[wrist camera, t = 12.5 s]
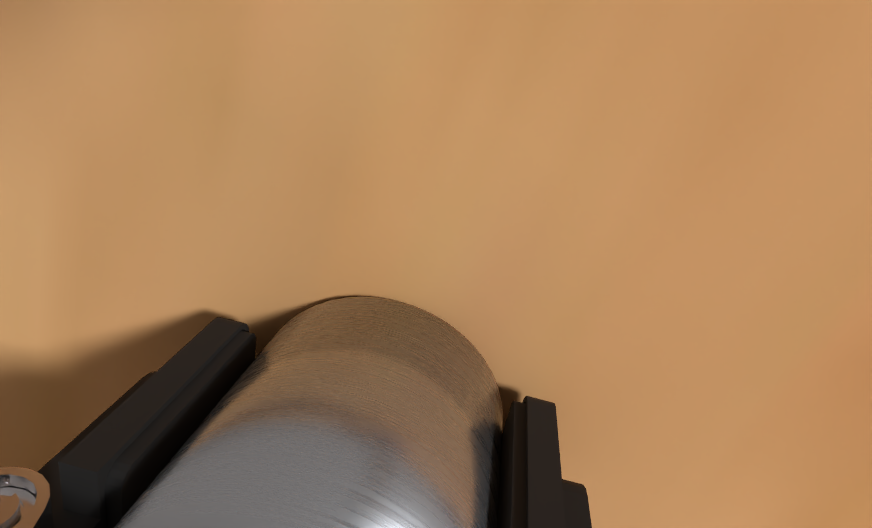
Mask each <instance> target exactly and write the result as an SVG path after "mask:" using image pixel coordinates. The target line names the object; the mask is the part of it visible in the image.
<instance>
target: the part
mask: <svg viewBox="0 0 872 528" xmlns="http://www.w3.org/2000/svg"><path fill="white" fill-rule="evenodd" d="M502 421H503V410H502V401H501V397H500V393H499V389H498V385H497V383H496V381H495V378H494V376H493V374H492V372H491V370H490V368H489V367H488V365H487V363H486V362H485V360H484V358H483V357H482V356H481V354H480V353H479V352H478V351H477V349H476V348H475V347H474V346H473V345H472V344H471V343H470V342H469V341H468V340H467V339H466V338H465V337H464V336H463V335H462V334H461V333H460V332H458V331H457V330H456V329H455V328H453V327H452V326H451V325H449V324H448V323H447V322H445V321H443V320H441V319H440V318H438V317H436V316H435V315H433V314H431V313H429V312H427V311H424V310H422V309H420V308H418V307H415V306H412V305H409V304H406V303H403V302H399V301H395V300H390V299H384V298H377V297H346V298H341V299H335V300H330V301H327V302H324V303H321V304H318V305H315V306H313V307H311V308H309V309H307V310H305V311H303V312H301V313H299V314H298V315H296V316H295V317H294V318H292V319H291V320H289V321H288V322H287V323H286V324H285V325H284V326H283V327H282V328H281V329H280V330H279V331H278V332H277V333H276V335H275V336H274V337H273V338H272V339H271V341H270V342H269V343H268V344H267V345H266V346H265V348H264V349H263V350H262V351H261V352H260V354H259V355H258V356H257V357H256V358H255V360H254V361H253V362H252V363H251V364H250V366H249V367H248V368H247V369H246V370H245V372H244V373H243V374H242V375H241V376H240V378H239V379H238V380H237V381H236V382H235V384H234V385H233V386H232V387H231V388H230V390H229V391H228V392H227V393H226V394H225V396H224V397H223V398H222V399H221V400H220V401H219V403H218V404H217V405H216V406H215V407H214V409H213V410H212V411H211V412H210V413H209V415H208V416H207V417H206V418H205V419H204V421H203V422H202V423H201V424H200V425H199V427H198V428H197V429H196V430H195V431H194V433H193V434H192V435H191V436H190V437H189V439H188V440H187V441H186V442H185V443H184V445H183V446H182V447H181V448H180V449H179V451H178V452H177V453H176V454H175V455H174V456H173V458H172V459H171V460H170V461H169V462H168V464H167V465H166V466H165V467H164V468H163V470H162V471H161V472H160V473H159V474H158V476H157V477H156V478H155V479H154V480H153V482H152V483H151V484H150V485H149V486H148V488H147V489H146V490H145V491H144V492H143V494H142V495H141V496H140V497H139V498H138V500H137V501H136V502H135V503H134V504H133V506H132V507H131V508H130V509H129V510H128V511H127V513H126V514H125V515H124V516H123V517H122V519H121V520H120V521H119V522H118V523H117V525H116V526H115V527H114V528H497V510H498V492H499V475H500V457H501V439H502Z"/></svg>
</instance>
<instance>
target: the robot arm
mask: <svg viewBox="0 0 872 528" xmlns="http://www.w3.org/2000/svg"><path fill="white" fill-rule="evenodd" d="M255 349H256V336H255V334H253V333H250V332H249V328H248V325H247V324H245V323H241V322H237V321H233V320H229V319H225V318H221V317H217V318H216V319H214V320H213V321H212V322H211V323H210V324H209V325H207V326H206V327H205V328H204V329H203V330H202V331H201V332H200V333H199V334H198V335H196V336H195V337H194V338H193V339H192V340H191V341H190V342H189V343H188V344H187V345H185V346H184V347H183V348H182V349H181V350H180V351H179V352H178V353H177V354H176V355H175V356H173V357H172V358H171V359H170V360H169V361H168V362H167V363H166V364H165V365H164V366H162V367H161V368H160V369H159V370H158V371H157V372H151V373H149V374H147V375H146V376H144V377H143V378H142V379H141V380H140V381H139V382H137V383H136V384H135V385H134V386H133V387H132V388H131V389H130V390H128V391H127V392H126V393H125V394H124V395H123V396H122V397H121V398H119V399H118V400H117V401H116V402H115V403H114V404H113V405H112V406H111V407H109V408H108V409H107V410H106V411H105V412H104V413H103V414H102V415H100V416H99V417H98V418H97V419H96V420H95V421H94V422H93V423H92V424H90V425H89V426H88V427H87V428H86V429H85V430H84V431H83V432H81V433H80V434H79V435H78V436H77V437H76V438H75V439H74V440H73V441H71V442H70V443H69V444H68V445H67V446H66V447H65V448H64V449H62V450H61V451H60V452H59V453H58V454H57V455H56V456H55V457H54V458H52V459H51V460H50V461H49V462H48V463H47V464H46V465H45V466H43V467H42V468H41V469H40V470H39V471H38V472H36V471H34V470H32V469H29V468H22V467H16V466H12V467H0V528H114V527H115V526H116V525H117V523H118V522H119V521H120V520H121V519H122V517H123V516H124V515H125V514H126V513H127V511H128V510H129V509H130V508H131V507H132V506H133V504H134V503H135V502H136V501H137V500H138V498H139V497H140V496H141V495H142V494H143V492H144V491H145V490H146V489H147V488H148V486H149V485H150V484H151V483H152V482H153V480H154V479H155V478H156V477H157V476H158V474H159V473H160V472H161V471H162V470H163V468H164V467H165V466H166V465H167V464H168V462H169V461H170V460H171V459H172V458H173V456H174V455H175V454H176V453H177V452H178V451H179V449H180V448H181V447H182V446H183V445H184V443H185V442H186V441H187V440H188V439H189V437H190V436H191V435H192V434H193V433H194V431H195V430H196V429H197V428H198V427H199V425H200V424H201V423H202V422H203V421H204V419H205V418H206V417H207V416H208V415H209V413H210V412H211V411H212V410H213V409H214V407H215V406H216V405H217V404H218V403H219V401H220V400H221V399H222V398H223V397H224V396H225V394H226V393H227V392H228V391H229V390H230V388H231V387H232V386H233V385H234V384H235V382H236V381H237V380H238V379H239V378H240V376H241V375H242V374H243V373H244V372H245V370H246V369H247V368H248V367H249V366H250V364H251V363H252V362H253V361H254V360H255ZM497 528H592V526H591V518H590V511H589V504H588V496H587V492H586V488H585V487H584V485H582V484H578V483H575V482H571V481H567V480H563V479H562V476H561V464H560V452H559V440H558V428H557V416H556V406H555V404H554V403H552V402H548V401H544V400H540V399H537V398H533V397H529V396H526V397H525V398H524V400H523V402H522V403H521V402H517V401H513V402H512V405H511V407H510V411H509V414H508V417H507V420H506V423H505V426H504V429H503V433H502V439H501V457H500V475H499V492H498V510H497Z"/></svg>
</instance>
